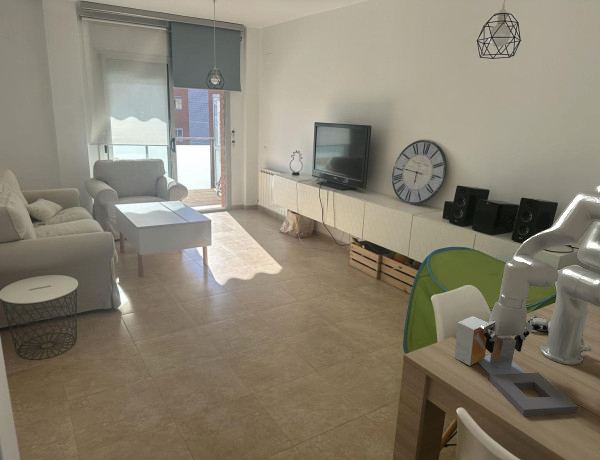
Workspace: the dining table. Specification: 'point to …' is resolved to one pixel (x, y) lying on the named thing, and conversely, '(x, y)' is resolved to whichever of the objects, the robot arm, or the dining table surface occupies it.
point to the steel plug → (503, 352)
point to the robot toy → (539, 323)
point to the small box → (470, 341)
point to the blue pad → (494, 371)
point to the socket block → (527, 406)
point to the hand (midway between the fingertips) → (502, 350)
